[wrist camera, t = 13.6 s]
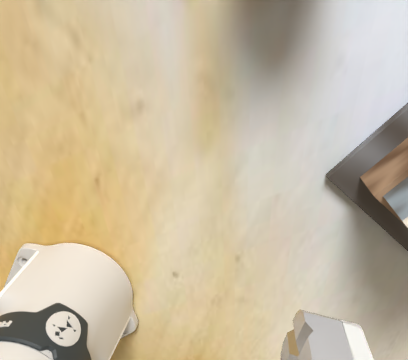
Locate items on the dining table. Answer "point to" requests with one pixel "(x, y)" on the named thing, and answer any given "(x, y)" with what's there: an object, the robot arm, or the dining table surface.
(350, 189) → the stacked open-top box
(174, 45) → the dining table surface
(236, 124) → the dining table surface
